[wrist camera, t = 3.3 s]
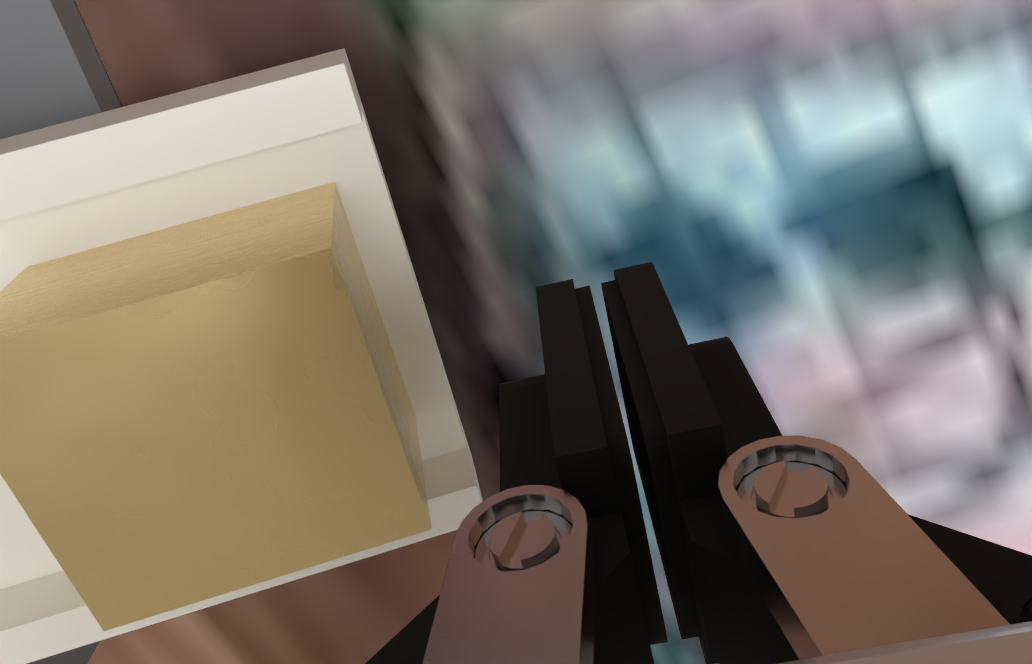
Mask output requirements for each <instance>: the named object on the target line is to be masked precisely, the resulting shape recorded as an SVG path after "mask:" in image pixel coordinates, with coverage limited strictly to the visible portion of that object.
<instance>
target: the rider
mask: <svg viewBox="0 0 1032 664" xmlns="http://www.w3.org/2000/svg"><path fill="white" fill-rule="evenodd" d="M0 474H1V476H2V477H3V479H4V480H5V482H6V484H7V485H8V487H9V488H10V490H11V491H12V493H13V494H14V496H15V497H16V499H17V500H18V502H19V503H20V505H21V506H22V508H23V509H24V511H25V512H26V514H27V515H28V517H29V519H30V520H31V522H32V523H33V525H34V526H35V528H36V529H37V531H38V532H39V534H40V535H41V537H42V538H43V540H44V541H45V543H46V544H47V546H48V547H49V549H50V551H51V552H52V554H53V555H54V557H55V558H56V560H57V561H58V563H59V564H60V566H61V567H62V569H63V570H64V572H65V573H66V575H67V576H68V578H69V579H70V581H71V583H72V584H73V586H74V587H75V589H76V590H77V592H78V593H79V595H80V596H81V598H82V599H83V601H84V602H85V604H86V605H87V607H88V608H89V610H90V611H91V613H92V615H93V616H94V618H95V619H96V621H97V622H98V624H99V625H100V627H101V628H102V630H103V631H107V630H110V629H113V628H116V627H120V626H123V625H126V624H129V623H133V622H136V621H139V620H142V619H145V618H149V617H152V616H155V615H158V614H161V613H165V612H168V611H171V610H174V609H178V608H181V607H184V606H187V605H190V604H194V603H197V602H200V601H203V600H206V599H210V598H213V597H216V596H219V595H223V594H226V593H229V592H232V591H235V590H239V589H242V588H245V587H248V586H252V585H255V584H258V583H261V582H264V581H268V580H271V579H274V578H277V577H280V576H284V575H287V574H290V573H293V572H297V571H300V570H303V569H306V568H309V567H313V566H316V565H319V564H322V563H326V562H329V561H332V560H335V559H338V558H342V557H345V556H348V555H351V554H354V553H358V552H361V551H364V550H367V549H371V548H374V547H377V546H380V545H383V544H387V543H390V542H393V541H396V540H399V539H403V538H406V537H409V536H412V535H416V534H419V533H422V532H425V531H428V530H432V526H431V519H430V512H429V506H428V499H427V492H426V485H425V478H424V472H423V465H422V458H421V451H420V445H419V438H418V431H417V424H416V417H415V414H414V411H413V408H412V405H411V402H410V399H409V397H408V394H407V391H406V388H405V385H404V382H403V379H402V376H401V373H400V370H399V367H398V364H397V362H396V359H395V356H394V353H393V350H392V347H391V344H390V341H389V338H388V335H387V332H386V329H385V326H384V324H383V321H382V318H381V315H380V312H379V309H378V306H377V303H376V300H375V297H374V294H373V291H372V289H371V286H370V283H369V280H368V277H367V274H366V271H365V268H364V265H363V262H362V259H361V256H360V254H359V251H358V248H357V245H356V242H355V239H354V236H353V233H352V230H351V227H350V224H349V221H348V218H347V216H346V213H345V210H344V207H343V204H342V201H341V198H340V195H339V192H338V189H337V186H336V183H335V182H331V183H327V184H324V185H320V186H317V187H313V188H309V189H306V190H302V191H299V192H295V193H291V194H288V195H284V196H280V197H277V198H273V199H270V200H266V201H262V202H259V203H255V204H252V205H248V206H244V207H241V208H237V209H234V210H230V211H226V212H223V213H219V214H216V215H212V216H208V217H205V218H201V219H197V220H194V221H190V222H187V223H183V224H179V225H176V226H172V227H169V228H165V229H161V230H158V231H154V232H151V233H147V234H143V235H140V236H136V237H132V238H129V239H125V240H122V241H118V242H114V243H111V244H107V245H104V246H100V247H96V248H93V249H89V250H86V251H82V252H78V253H75V254H71V255H67V256H64V257H60V258H57V259H53V260H49V261H46V262H42V263H39V264H35V265H31V266H28V267H26V268H25V269H24V270H22V271H21V272H20V273H19V274H18V275H17V276H16V277H15V278H14V279H13V280H12V281H11V282H10V283H9V284H8V285H7V286H6V287H5V288H4V289H3V290H2V291H1V292H0Z"/></svg>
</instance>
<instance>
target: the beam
mask: <svg viewBox="0 0 1032 664" xmlns="http://www.w3.org/2000/svg"><path fill="white" fill-rule="evenodd" d="M331 182H335V183H336V186H337V189H338V192H339V195H340V198H341V201H342V204H343V207H344V210H345V213H346V216H347V218H348V221H349V224H350V227H351V230H352V233H353V236H354V239H355V242H356V245H357V248H358V251H359V254H360V256H361V259H362V262H363V265H364V268H365V271H366V274H367V277H368V280H369V283H370V286H371V289H372V291H373V294H374V297H375V300H376V303H377V306H378V309H379V312H380V315H381V318H382V321H383V324H384V326H385V329H386V332H387V335H388V338H389V341H390V344H391V347H392V350H393V353H394V356H395V359H396V362H397V364H398V367H399V370H400V373H401V376H402V379H403V382H404V385H405V388H406V391H407V394H408V397H409V399H410V402H411V405H412V408H413V411H414V414H415V417H416V424H417V431H418V438H419V445H420V451H421V458H422V465H423V472H424V478H425V485H426V492H427V499H428V506H429V512H430V519H431V526H432V530H428V531H425V532H422V533H419V534H416V535H412V536H409V537H406V538H403V539H399V540H396V541H393V542H390V543H387V544H383V545H380V546H377V547H374V548H371V549H367V550H364V551H361V552H358V553H354V554H351V555H348V556H345V557H342V558H338V559H335V560H332V561H329V562H326V563H322V564H319V565H316V566H313V567H309V568H306V569H303V570H300V571H297V572H293V573H290V574H287V575H284V576H280V577H277V578H274V579H271V580H268V581H264V582H261V583H258V584H255V585H252V586H248V587H245V588H242V589H239V590H235V591H232V592H229V593H226V594H223V595H219V596H216V597H213V598H210V599H206V600H203V601H200V602H197V603H194V604H190V605H187V606H184V607H181V608H178V609H174V610H171V611H168V612H165V613H161V614H158V615H155V616H152V617H149V618H145V619H142V620H139V621H136V622H133V623H129V624H126V625H123V626H120V627H116V628H113V629H110V630H107V631H103V630H102V628H101V627H100V625H99V624H98V622H97V621H96V619H95V618H94V616H93V615H92V613H91V611H90V610H89V608H88V607H87V605H86V604H85V602H84V601H83V599H82V598H81V596H80V595H79V593H78V592H77V590H76V589H75V587H74V586H73V584H72V583H71V581H70V579H69V578H68V576H67V575H66V573H65V572H64V570H63V569H62V567H61V566H60V564H59V563H58V561H57V560H56V558H55V557H54V555H53V554H52V552H51V551H50V549H49V547H48V546H47V544H46V543H45V541H44V540H43V538H42V537H41V535H40V534H39V532H38V531H37V529H36V528H35V526H34V525H33V523H32V522H31V520H30V519H29V517H28V515H27V514H26V512H25V511H24V509H23V508H22V506H21V505H20V503H19V502H18V500H17V499H16V497H15V496H14V494H13V493H12V491H11V490H10V488H9V487H8V485H7V484H6V482H5V480H4V479H3V477H2V476H1V474H0V664H27V663H30V662H33V661H36V660H40V659H43V658H46V657H49V656H52V655H56V654H59V653H62V652H65V651H69V650H72V649H75V648H78V647H81V646H85V645H88V644H91V643H94V642H97V641H101V640H104V639H107V638H110V637H114V636H117V635H120V634H123V633H126V632H130V631H133V630H136V629H139V628H142V627H146V626H149V625H152V624H155V623H159V622H162V621H165V620H168V619H171V618H175V617H178V616H181V615H184V614H188V613H191V612H194V611H197V610H200V609H204V608H207V607H210V606H213V605H216V604H220V603H223V602H226V601H229V600H233V599H236V598H239V597H242V596H245V595H249V594H252V593H255V592H258V591H261V590H265V589H268V588H271V587H274V586H278V585H281V584H284V583H287V582H290V581H294V580H297V579H300V578H303V577H306V576H310V575H313V574H316V573H319V572H323V571H326V570H329V569H332V568H335V567H339V566H342V565H345V564H348V563H351V562H355V561H358V560H361V559H364V558H368V557H371V556H374V555H377V554H380V553H384V552H387V551H390V550H393V549H396V548H400V547H403V546H406V545H409V544H413V543H416V542H419V541H422V540H425V539H429V538H432V537H435V536H438V535H441V534H445V533H448V532H451V531H454V530H458V529H459V527H460V524H461V522H462V521H463V519H464V518H465V517H466V516H467V515H468V514H469V513H470V511H471V510H472V509H473V508H474V507H475V506H477V505H478V504H480V503H481V502H483V499H482V495H481V491H480V487H479V483H478V479H477V475H476V471H475V467H474V463H473V459H472V455H471V452H470V449H469V446H468V442H467V439H466V436H465V433H464V430H463V426H462V423H461V420H460V417H459V414H458V410H457V407H456V404H455V401H454V398H453V394H452V391H451V388H450V385H449V382H448V378H447V375H446V372H445V369H444V365H443V362H442V359H441V356H440V353H439V349H438V346H437V343H436V340H435V337H434V333H433V330H432V327H431V324H430V321H429V317H428V314H427V311H426V308H425V305H424V301H423V298H422V295H421V292H420V289H419V285H418V282H417V279H416V276H415V273H414V269H413V266H412V263H411V260H410V256H409V253H408V250H407V247H406V244H405V240H404V237H403V234H402V231H401V228H400V224H399V221H398V218H397V215H396V212H395V208H394V205H393V202H392V199H391V196H390V192H389V189H388V186H387V183H386V180H385V176H384V173H383V170H382V167H381V164H380V160H379V157H378V154H377V151H376V147H375V144H374V141H373V138H372V135H371V131H370V128H369V125H368V122H367V119H366V115H365V112H364V109H363V106H362V103H361V99H360V96H359V93H358V90H357V87H356V83H355V80H354V77H353V74H352V71H351V67H350V64H349V61H348V58H347V55H346V51H345V48H343V49H339V50H335V51H332V52H328V53H324V54H320V55H317V56H313V57H309V58H305V59H301V60H298V61H294V62H290V63H286V64H283V65H279V66H275V67H271V68H268V69H264V70H260V71H256V72H252V73H249V74H245V75H241V76H237V77H234V78H230V79H226V80H222V81H219V82H215V83H211V84H207V85H204V86H200V87H196V88H192V89H188V90H185V91H181V92H177V93H173V94H170V95H166V96H162V97H158V98H155V99H151V100H147V101H143V102H139V103H136V104H132V105H128V106H124V107H121V108H117V109H113V110H109V111H106V112H102V113H98V114H94V115H91V116H87V117H83V118H79V119H75V120H72V121H68V122H64V123H60V124H57V125H53V126H49V127H45V128H42V129H38V130H34V131H30V132H26V133H23V134H19V135H15V136H11V137H8V138H4V139H0V292H1V291H2V290H3V289H4V288H5V287H6V286H7V285H8V284H9V283H10V282H11V281H12V280H13V279H14V278H15V277H16V276H17V275H18V274H19V273H20V272H21V271H22V270H24V269H25V268H26V267H28V266H31V265H35V264H39V263H42V262H46V261H49V260H53V259H57V258H60V257H64V256H67V255H71V254H75V253H78V252H82V251H86V250H89V249H93V248H96V247H100V246H104V245H107V244H111V243H114V242H118V241H122V240H125V239H129V238H132V237H136V236H140V235H143V234H147V233H151V232H154V231H158V230H161V229H165V228H169V227H172V226H176V225H179V224H183V223H187V222H190V221H194V220H197V219H201V218H205V217H208V216H212V215H216V214H219V213H223V212H226V211H230V210H234V209H237V208H241V207H244V206H248V205H252V204H255V203H259V202H262V201H266V200H270V199H273V198H277V197H280V196H284V195H288V194H291V193H295V192H299V191H302V190H306V189H309V188H313V187H317V186H320V185H324V184H327V183H331Z"/></svg>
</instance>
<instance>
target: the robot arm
mask: <svg viewBox="0 0 1032 664" xmlns="http://www.w3.org/2000/svg"><path fill="white" fill-rule="evenodd" d="M614 276H615V280H614V281H609V282H604V283H601V284H602V291H603V296H604V301H605V306H606V311H607V316H608V322H609V327H610V332H611V337H612V342H613V347H614V352H615V357H616V363H617V368H618V373H619V378H620V383H621V388H622V393H623V398H624V404H625V409H626V414H627V419H628V424H629V429H630V434H631V439H632V444H633V448H634V453H635V457H636V461H637V465H638V469H639V473H640V477H641V481H642V485H643V489H644V492H645V496H646V500H647V504H648V508H649V512H650V516H651V520H652V524H653V528H654V532H655V536H656V540H657V544H658V548H659V552H660V555H661V559H662V563H663V567H664V571H665V575H666V579H667V583H668V587H669V591H670V595H671V599H672V603H673V607H674V611H675V615H676V618H677V622H678V626H679V630H680V634H681V637H682V639H686V638H692V637H697V636H699V640H700V643H701V647H702V650H703V654H704V658H705V661H706V664H713V663H720V664H1032V556H1031V555H1028V554H1025V553H1022V552H1019V551H1016V550H1013V549H1010V548H1007V547H1004V546H1001V545H998V544H995V543H992V542H989V541H986V540H983V539H980V538H977V537H974V536H971V535H968V534H965V533H962V532H959V531H956V530H953V529H950V528H947V527H944V526H941V525H938V524H935V523H932V522H929V521H926V520H923V519H920V518H917V517H914V516H911V515H908V514H907V513H906V512H905V511H904V510H903V509H902V508H901V507H900V506H899V505H898V504H897V503H896V502H895V501H894V500H893V498H892V497H891V496H890V495H889V494H888V493H887V492H886V491H885V490H884V489H883V488H882V487H881V486H880V485H879V483H878V482H877V481H876V480H875V479H874V478H873V477H872V476H871V475H870V474H869V473H868V472H867V471H866V470H865V469H864V467H863V466H862V465H861V464H860V463H859V462H858V461H857V460H856V459H855V458H854V457H852V456H851V455H850V454H848V453H847V452H846V451H845V450H843V449H842V448H840V447H838V446H836V445H833V444H831V443H828V442H826V441H824V440H820V439H815V438H810V437H804V436H782V434H781V432H780V431H779V429H778V427H777V425H776V423H775V421H774V419H773V418H772V416H771V414H770V412H769V410H768V408H767V406H766V404H765V403H764V401H763V399H762V397H761V395H760V393H759V391H758V390H757V388H756V386H755V384H754V382H753V380H752V378H751V377H750V375H749V373H748V371H747V369H746V367H745V365H744V363H743V362H742V360H741V358H740V356H739V354H738V352H737V350H736V349H735V347H734V345H733V343H732V342H731V340H730V339H729V338H728V337H723V338H719V339H714V340H709V341H704V342H699V343H694V344H690V345H688V344H687V341H686V339H685V337H684V334H683V332H682V330H681V328H680V325H679V323H678V321H677V318H676V316H675V314H674V311H673V309H672V307H671V305H670V302H669V300H668V298H667V295H666V293H665V291H664V288H663V286H662V284H661V282H660V279H659V277H658V275H657V272H656V270H655V268H654V265H653V264H652V262H649V263H645V264H640V265H636V266H631V267H626V268H622V269H617V270H614ZM536 293H537V302H538V312H539V321H540V330H541V339H542V348H543V357H544V367H545V375H540V376H535V377H530V378H525V379H520V380H516V381H511V382H506V383H501V384H500V386H499V419H500V492H499V493H497V494H495V495H492V496H490V497H488V498H487V499H486V500H484V501H483V502H481V503H480V504H478V505H477V506H475V507H474V508H473V509H472V510H471V511H470V513H469V514H468V515H467V516H466V517H465V518H464V519H463V521H462V522H461V524H460V527H459V529H458V531H457V533H456V535H455V539H454V543H453V547H452V551H451V554H450V558H449V562H448V566H447V570H446V574H445V578H444V582H443V586H442V590H441V593H440V595H439V596H438V597H437V598H436V599H435V600H434V601H433V602H432V603H430V604H429V605H428V606H427V607H426V608H425V609H424V610H423V611H422V612H421V613H420V614H419V615H417V616H416V617H415V618H414V619H413V620H412V621H411V622H410V623H409V624H408V625H407V626H406V627H404V628H403V629H402V630H401V631H400V632H399V633H398V634H397V635H396V636H395V637H394V638H393V639H391V640H390V641H389V642H388V643H387V644H386V645H385V646H384V647H383V648H382V649H381V650H380V651H378V652H377V653H376V654H375V655H374V656H373V657H372V658H371V659H370V660H369V661H368V662H367V663H365V664H654V662H653V657H652V652H651V647H650V645H652V644H658V643H663V642H668V641H667V635H666V630H665V625H664V620H663V615H662V610H661V605H660V600H659V595H658V590H657V584H656V579H655V574H654V569H653V564H652V559H651V554H650V549H649V544H648V539H647V534H646V529H645V524H644V519H643V514H642V509H641V503H640V498H639V493H638V488H637V483H636V478H635V473H634V468H633V463H632V458H631V454H630V449H629V444H628V440H627V436H626V431H625V427H624V423H623V419H622V415H621V411H620V407H619V403H618V399H617V395H616V391H615V387H614V383H613V379H612V375H611V371H610V367H609V362H608V358H607V354H606V350H605V346H604V342H603V338H602V334H601V330H600V326H599V322H598V318H597V314H596V310H595V306H594V302H593V298H592V294H591V290H590V286H586V287H581V288H576V289H575V288H574V283H573V279H571V280H566V281H562V282H557V283H552V284H548V285H543V286H539V287H536Z"/></svg>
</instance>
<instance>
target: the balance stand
mask: <svg viewBox="0 0 1032 664" xmlns="http://www.w3.org/2000/svg"><path fill="white" fill-rule="evenodd" d="M117 108H121V105H120V103H119V101H118V98H117V96H116V94H115V92H114V89H113V87H112V85H111V83H110V80H109V78H108V76H107V74H106V72H105V69H104V67H103V65H102V63H101V60H100V58H99V56H98V54H97V52H96V49H95V47H94V45H93V43H92V40H91V38H90V36H89V34H88V32H87V29H86V27H85V25H84V23H83V20H82V18H81V16H80V14H79V12H78V9H77V7H76V5H75V3H74V0H0V139H4V138H8V137H11V136H15V135H19V134H23V133H26V132H30V131H34V130H38V129H42V128H45V127H49V126H53V125H57V124H60V123H64V122H68V121H72V120H75V119H79V118H83V117H87V116H91V115H94V114H98V113H102V112H106V111H109V110H113V109H117ZM99 642H100V641H97V642H94V643H91V644H88V645H85V646H81V647H78V648H75V649H72V650H69V651H65V652H62V653H59V654H56V655H52V656H49V657H46V658H43V659H40V660H36V661H33V662H30V663H27V664H87V663H88V661H89V660H90V658H91V656H92V654H93V652H94V651H95V649H96V647H97V645H98V643H99Z"/></svg>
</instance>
